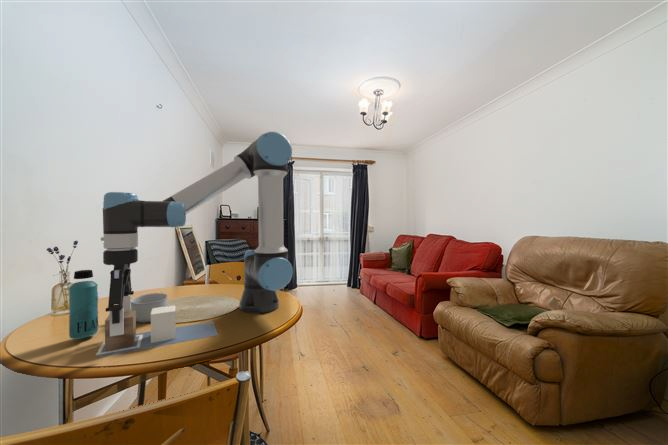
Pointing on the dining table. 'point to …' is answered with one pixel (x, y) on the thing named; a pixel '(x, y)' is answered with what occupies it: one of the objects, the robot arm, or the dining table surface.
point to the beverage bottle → (83, 306)
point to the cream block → (163, 323)
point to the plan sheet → (181, 336)
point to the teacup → (147, 305)
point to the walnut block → (127, 337)
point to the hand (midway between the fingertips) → (121, 326)
